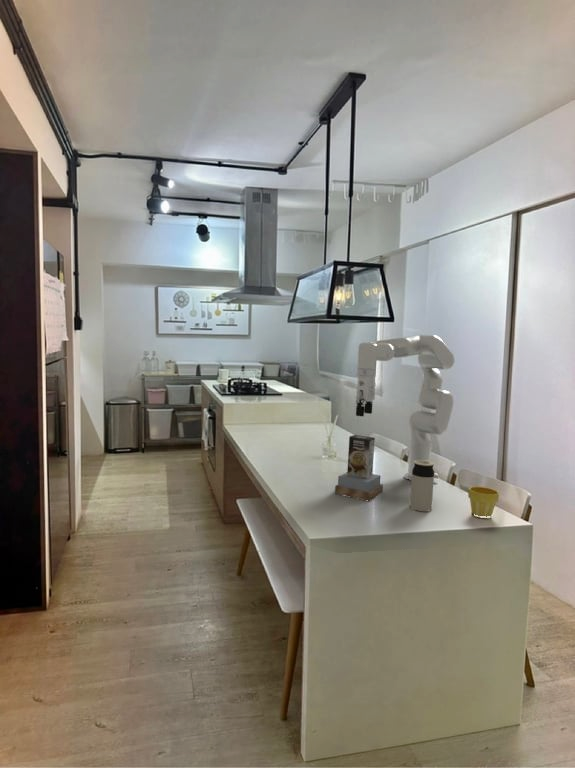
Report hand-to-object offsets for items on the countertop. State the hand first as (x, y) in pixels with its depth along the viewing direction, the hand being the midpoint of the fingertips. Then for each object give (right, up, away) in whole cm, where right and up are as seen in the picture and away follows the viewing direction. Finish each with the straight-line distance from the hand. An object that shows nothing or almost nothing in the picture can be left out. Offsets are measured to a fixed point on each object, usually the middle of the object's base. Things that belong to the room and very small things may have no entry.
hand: (364, 414), depth 204 cm
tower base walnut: (-2, -33, 0) cm, 33 cm away
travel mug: (+19, -35, -15) cm, 43 cm away
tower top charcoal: (-2, -29, 0) cm, 29 cm away
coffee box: (-2, -25, 0) cm, 25 cm away
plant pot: (+40, -36, -20) cm, 58 cm away
